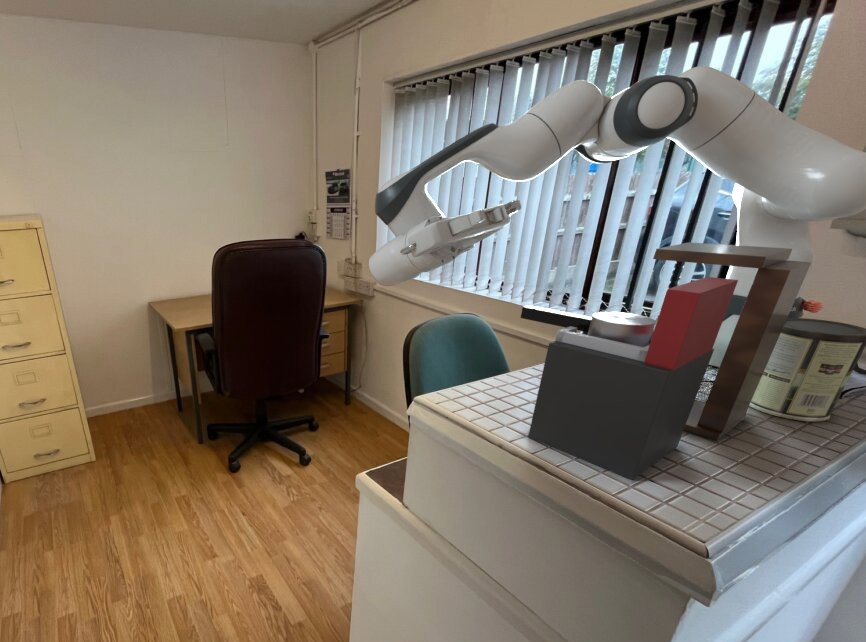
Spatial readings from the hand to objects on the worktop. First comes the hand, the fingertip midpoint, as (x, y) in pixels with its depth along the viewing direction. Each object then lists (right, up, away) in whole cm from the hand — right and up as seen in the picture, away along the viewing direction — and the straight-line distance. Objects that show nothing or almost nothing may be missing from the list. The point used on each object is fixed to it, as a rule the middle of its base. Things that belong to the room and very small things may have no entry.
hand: (500, 209), depth 72 cm
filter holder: (+9, -20, -5) cm, 23 cm away
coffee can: (+49, -32, +4) cm, 59 cm away
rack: (+31, -32, +4) cm, 45 cm away
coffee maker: (+13, -36, -4) cm, 39 cm away
